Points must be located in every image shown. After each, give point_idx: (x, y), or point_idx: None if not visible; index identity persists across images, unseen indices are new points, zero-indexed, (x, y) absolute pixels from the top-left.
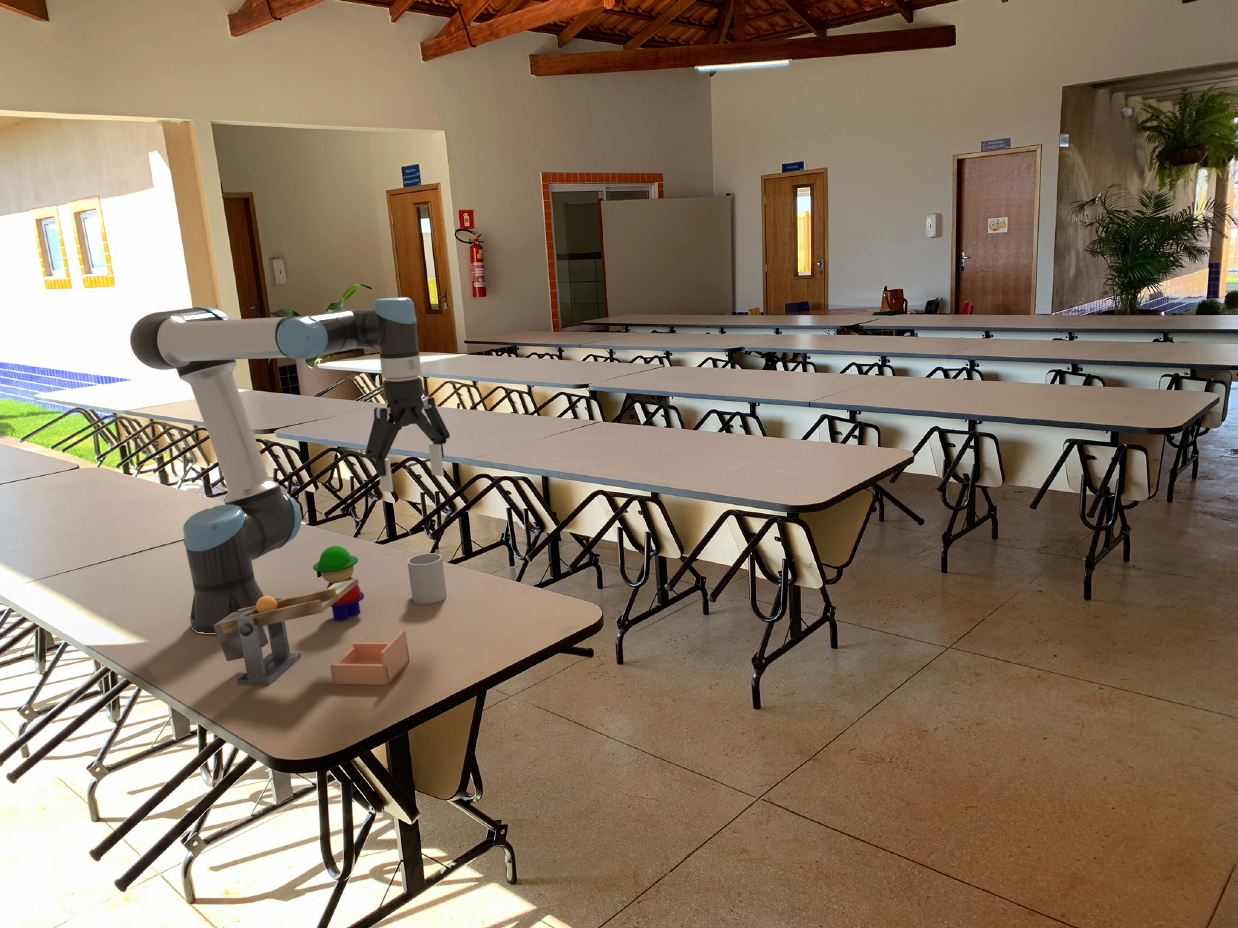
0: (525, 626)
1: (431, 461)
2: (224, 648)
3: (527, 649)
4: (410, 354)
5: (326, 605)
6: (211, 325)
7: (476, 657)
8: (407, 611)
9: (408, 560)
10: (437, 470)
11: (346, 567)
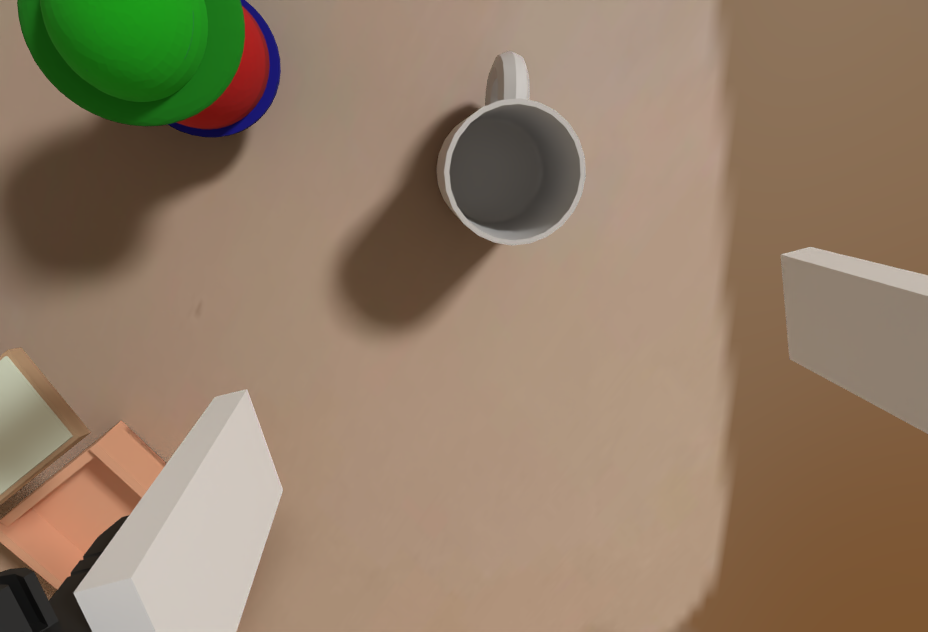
0: (543, 557)
1: (867, 292)
2: None
3: None
4: None
5: None
6: None
7: (358, 616)
8: (385, 213)
9: (462, 130)
10: (815, 336)
11: (153, 125)
